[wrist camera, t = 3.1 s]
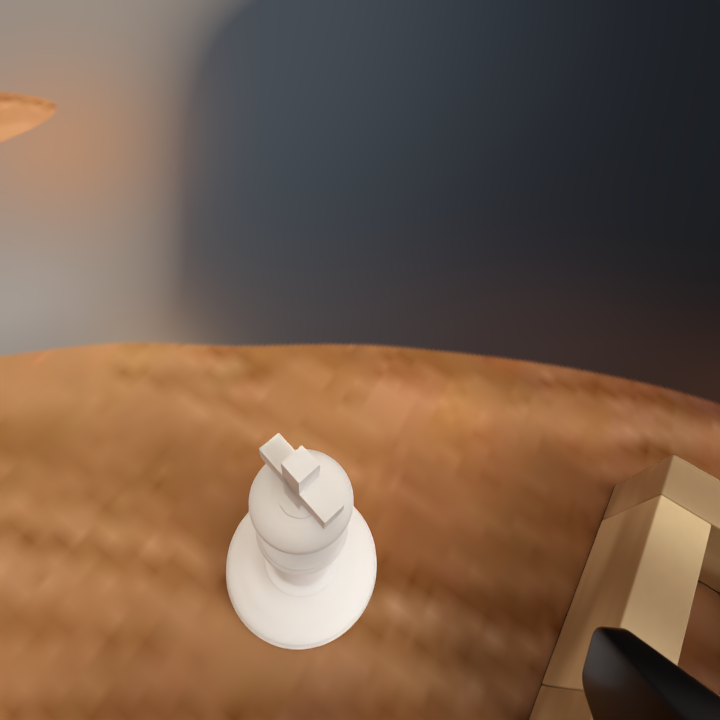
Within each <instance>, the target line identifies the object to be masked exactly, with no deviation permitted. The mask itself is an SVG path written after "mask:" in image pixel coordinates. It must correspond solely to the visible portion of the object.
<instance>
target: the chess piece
mask: <svg viewBox="0 0 720 720" xmlns="http://www.w3.org/2000/svg"><path fill="white" fill-rule="evenodd" d="M259 452H260V456H261V458H262V459H263V461H264V462H265V463H266V464H265V465H264V466H263V467H262V469H261V470H260V471H259V472H258V474H257V475H256V477H255V479H254V481H253V483H252V486H251V489H250V494H249V503H248V504H249V512H248V513H247V514H246V516H245V517H244V518H243V520H242V521H241V522H240V524H239V526H238V527H237V529H236V531H235V533H234V535H233V538H232V540H231V543H230V546H229V550H228V555H227V563H226V582H227V589H228V593H229V597H230V600H231V603H232V605H233V607H234V609H235V611H236V613H237V615H238V616H239V618H240V619H241V621H242V622H243V623H244V625H245V626H246V627H247V628H248V629H249V630H250V631H251V632H252V633H254V634H255V635H256V636H257V637H259V638H260V639H262V640H264V641H266V642H268V643H270V644H272V645H275V646H278V647H281V648H286V649H310V648H315V647H318V646H321V645H324V644H327V643H329V642H331V641H333V640H335V639H336V638H338V637H339V636H341V635H342V634H344V633H345V632H346V631H347V630H348V629H349V628H351V627H352V626H353V624H354V623H355V622H356V621H357V620H358V619H359V617H360V616H361V614H362V613H363V611H364V610H365V608H366V606H367V604H368V602H369V600H370V598H371V595H372V592H373V589H374V585H375V580H376V572H377V559H376V550H375V544H374V540H373V537H372V534H371V532H370V529H369V527H368V525H367V523H366V521H365V520H364V518H363V517H362V515H361V514H360V513H359V512H358V510H357V509H356V508H355V507H354V506H353V502H354V498H353V490H352V486H351V482H350V480H349V478H348V476H347V474H346V472H345V471H344V469H343V468H342V467H341V466H340V465H339V464H338V463H337V462H336V461H335V460H334V459H332V458H331V457H329V456H328V455H326V454H324V453H321V452H318V451H315V450H309V449H305V448H304V447H303V446H301V447H299V448H298V449H296V450H294V449H293V448H292V447H291V446H290V445H289V444H288V443H287V441H286V440H285V439H284V438H283V437H282V436H281V435H280V434H279V433H278V434H277V435H276V436H274V437H273V438H272V439H270V440H269V441H268V442H267V443H265V444H264V445H263V446H262V447H260V448H259Z"/></svg>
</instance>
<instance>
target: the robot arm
mask: <svg viewBox="0 0 720 720" xmlns="http://www.w3.org/2000/svg"><path fill="white" fill-rule="evenodd" d="M582 684H583V689H584V693H585V696H586V699H587V702H588V705H589V708H590V711H591V714H592V717H593V720H720V696H718V695H717V694H715V693H714V692H713V691H711V690H710V689H709V688H707V687H706V686H705V685H703V684H702V683H700V682H699V681H698V680H696V679H695V678H694V677H692V676H691V675H689V674H688V673H687V672H685V671H684V670H683V669H681V668H680V667H679V666H677V665H676V664H674V663H673V662H672V661H670V660H669V659H668V658H666V657H665V656H663V655H662V654H661V653H659V652H658V651H657V650H655V649H654V648H653V647H651V646H650V645H648V644H647V643H646V642H644V641H643V640H642V639H640V638H639V637H637V636H636V635H635V634H633V633H632V632H631V631H629V630H627V629H624V628H617V627H604V626H601V627H598V628H596V629H595V631H594V632H593V634H592V638H591V641H590V645H589V649H588V652H587V656H586V660H585V663H584V667H583V672H582Z"/></svg>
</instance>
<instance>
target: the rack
mask: <svg viewBox="0 0 720 720" xmlns="http://www.w3.org/2000/svg"><path fill="white" fill-rule="evenodd" d="M698 580H699V581H701V582H703V583H704V584H706V585H708V586H709V587H711V588H712V589H714V590H716V591H717V592H719V593H720V480H718V479H716V478H715V477H713V476H711V475H709V474H708V473H706V472H704V471H702V470H701V469H699V468H697V467H695V466H694V465H692V464H690V463H688V462H687V461H685V460H683V459H682V458H680V457H678V456H676V455H674V454H673V455H671V456H669V457H667V458H665V459H664V460H662V461H660V462H658V463H656V464H654V465H652V466H651V467H649V468H647V469H645V470H643V471H641V472H639V473H637V474H636V475H634V476H632V477H630V478H628V479H626V480H624V481H623V482H621V483H619V484H617V485H615V487H614V490H613V493H612V495H611V498H610V501H609V503H608V506H607V509H606V512H605V514H604V517H603V521H602V522H601V525H600V528H599V530H598V533H597V536H596V538H595V541H594V544H593V546H592V549H591V552H590V555H589V557H588V560H587V563H586V565H585V568H584V571H583V573H582V576H581V579H580V582H579V584H578V587H577V590H576V592H575V595H574V598H573V600H572V603H571V606H570V609H569V611H568V614H567V617H566V619H565V622H564V625H563V628H562V630H561V633H560V636H559V638H558V641H557V644H556V646H555V649H554V652H553V655H552V657H551V660H550V663H549V665H548V668H547V671H546V673H545V676H544V679H543V682H542V685H543V686H541V688H540V691H539V693H538V696H537V699H536V702H535V704H534V707H533V710H532V712H531V715H530V718H529V720H593V717H592V714H591V711H590V708H589V705H588V702H587V699H586V696H585V693H584V689H583V684H582V672H583V667H584V663H585V660H586V656H587V652H588V649H589V645H590V641H591V638H592V634H593V632H594V631H595V629H596V628H598V627H601V626H604V627H617V628H624V629H627V630H629V631H631V632H632V633H633V634H635V635H636V636H637V637H639V638H640V639H642V640H643V641H644V642H646V643H647V644H648V645H650V646H651V647H653V648H654V649H655V650H657V651H658V652H659V653H661V654H662V655H663V656H665V657H666V658H668V659H669V660H670V661H672V662H673V663H674V664H676V665H677V664H678V660H679V656H680V652H681V648H682V644H683V640H684V636H685V632H686V627H687V623H688V619H689V615H690V611H691V607H692V603H693V599H694V595H695V590H696V586H697V582H698Z"/></svg>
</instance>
